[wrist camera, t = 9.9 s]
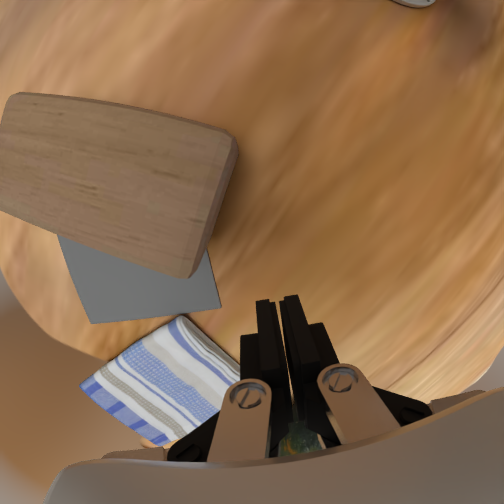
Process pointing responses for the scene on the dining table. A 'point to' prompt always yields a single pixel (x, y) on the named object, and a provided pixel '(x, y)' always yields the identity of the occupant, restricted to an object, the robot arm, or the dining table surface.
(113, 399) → the dish towel
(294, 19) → the dining table surface
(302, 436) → the squash
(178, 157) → the wooden block
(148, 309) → the mat
